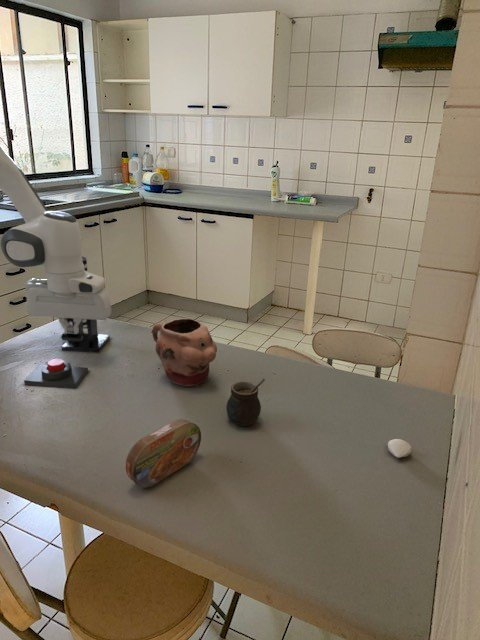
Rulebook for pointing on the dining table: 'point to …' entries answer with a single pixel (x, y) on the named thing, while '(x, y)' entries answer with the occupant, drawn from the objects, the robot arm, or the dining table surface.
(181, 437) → the tin
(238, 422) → the mate gourd
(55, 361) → the button
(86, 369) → the button housing
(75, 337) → the toast lever
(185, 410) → the dining table surface
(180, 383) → the character head mug
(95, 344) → the lever bracket
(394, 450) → the white pebble
